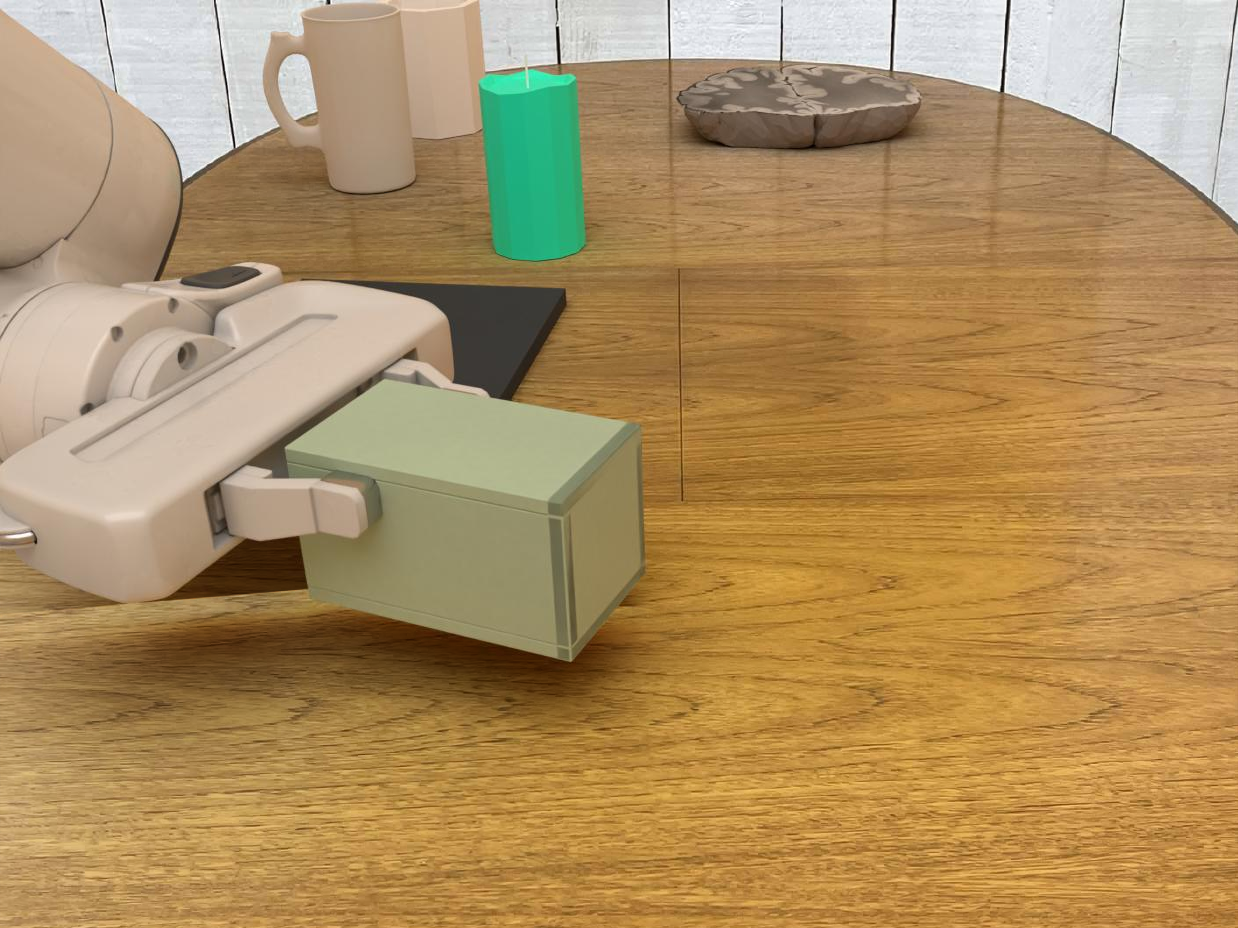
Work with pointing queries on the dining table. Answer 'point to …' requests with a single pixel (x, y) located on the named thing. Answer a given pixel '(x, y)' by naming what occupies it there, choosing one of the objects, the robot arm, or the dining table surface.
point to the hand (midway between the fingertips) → (431, 460)
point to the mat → (487, 327)
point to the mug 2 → (442, 65)
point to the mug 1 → (351, 94)
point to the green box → (481, 515)
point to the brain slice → (799, 106)
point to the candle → (533, 164)
